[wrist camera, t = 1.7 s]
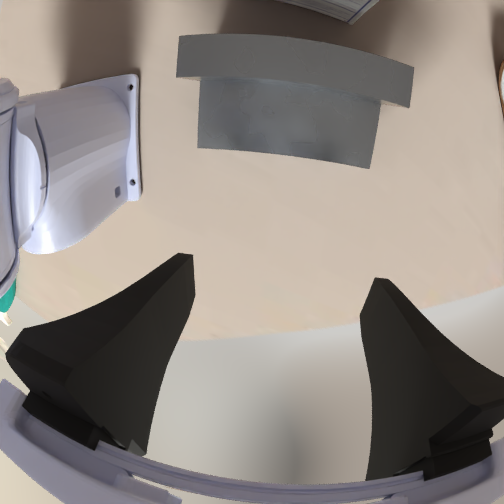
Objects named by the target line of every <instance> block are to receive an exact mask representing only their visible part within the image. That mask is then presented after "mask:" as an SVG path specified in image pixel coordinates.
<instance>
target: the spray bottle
mask: <svg viewBox="0 0 504 504" xmlns="http://www.w3.org/2000/svg"><path fill="white" fill-rule="evenodd" d="M15 288H16V278H15V280H14V282H13V284H12V285H11V287H10V288H9V290H8V291H7V292H6V293H5V294H4V295H3V296H2V297H1V298H0V319H1V320H2V321H3V322H4V323H5V324H6V325H8V326H10V324H11V323H12V321H11V319H10V318H9V316H8V315H7V311H8V309H9V308H10V306H11V304H12V302H13V300H14V296H15Z"/></svg>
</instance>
